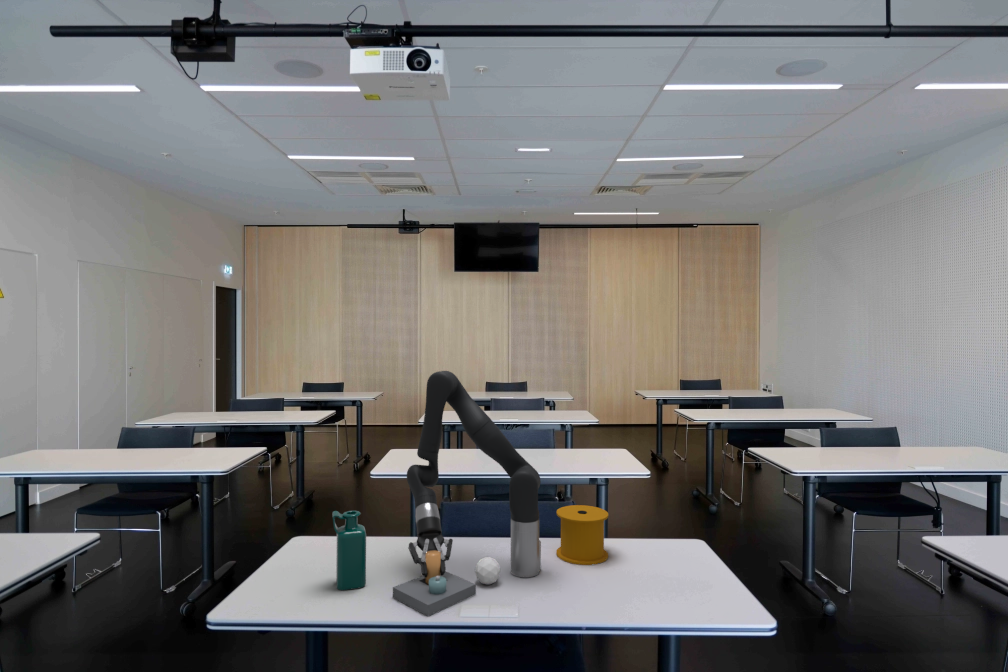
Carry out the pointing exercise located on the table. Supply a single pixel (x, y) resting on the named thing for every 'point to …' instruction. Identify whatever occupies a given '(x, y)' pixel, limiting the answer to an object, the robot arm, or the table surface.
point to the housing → (434, 592)
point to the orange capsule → (433, 564)
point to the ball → (487, 570)
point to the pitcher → (350, 552)
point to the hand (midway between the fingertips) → (434, 574)
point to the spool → (582, 534)
